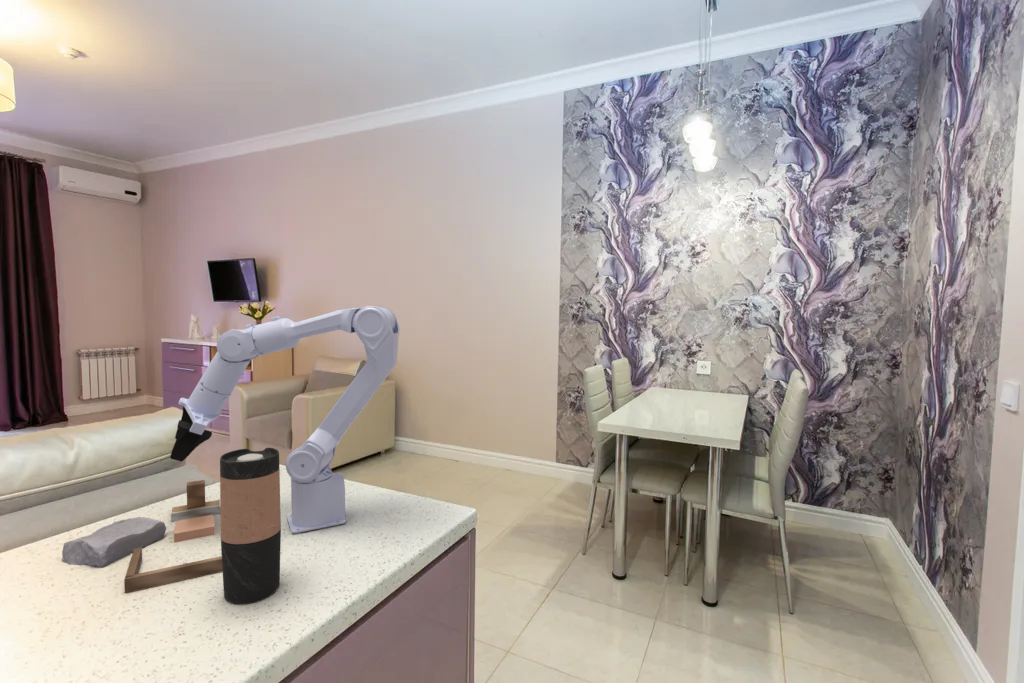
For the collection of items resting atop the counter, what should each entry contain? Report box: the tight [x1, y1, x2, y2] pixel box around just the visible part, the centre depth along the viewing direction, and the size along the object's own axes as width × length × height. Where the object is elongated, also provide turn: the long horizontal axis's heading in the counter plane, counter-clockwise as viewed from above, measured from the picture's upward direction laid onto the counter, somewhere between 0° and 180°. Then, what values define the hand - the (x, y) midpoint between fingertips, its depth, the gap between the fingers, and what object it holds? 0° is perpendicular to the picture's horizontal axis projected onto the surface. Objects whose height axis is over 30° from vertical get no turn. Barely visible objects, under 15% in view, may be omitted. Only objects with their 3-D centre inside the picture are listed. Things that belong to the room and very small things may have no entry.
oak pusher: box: [170, 479, 220, 523], centre depth 97 cm, size 8×5×6 cm, turn 121°
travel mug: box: [219, 447, 282, 605], centre depth 71 cm, size 8×8×20 cm
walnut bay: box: [123, 547, 223, 594], centre depth 79 cm, size 16×10×2 cm, turn 121°
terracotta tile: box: [173, 514, 216, 543], centre depth 90 cm, size 6×6×2 cm
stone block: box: [61, 516, 167, 568], centre depth 83 cm, size 12×5×10 cm
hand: (178, 448), depth 92 cm, fingers open, 7 cm apart
